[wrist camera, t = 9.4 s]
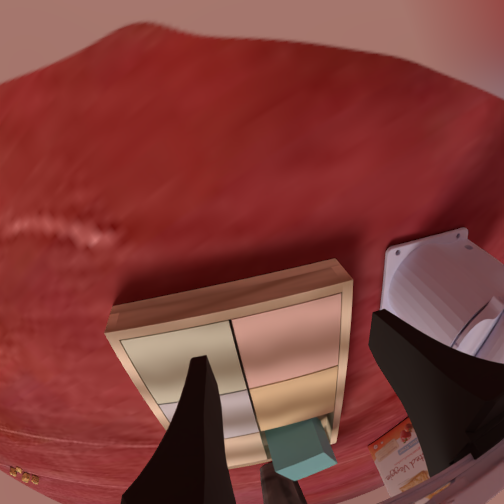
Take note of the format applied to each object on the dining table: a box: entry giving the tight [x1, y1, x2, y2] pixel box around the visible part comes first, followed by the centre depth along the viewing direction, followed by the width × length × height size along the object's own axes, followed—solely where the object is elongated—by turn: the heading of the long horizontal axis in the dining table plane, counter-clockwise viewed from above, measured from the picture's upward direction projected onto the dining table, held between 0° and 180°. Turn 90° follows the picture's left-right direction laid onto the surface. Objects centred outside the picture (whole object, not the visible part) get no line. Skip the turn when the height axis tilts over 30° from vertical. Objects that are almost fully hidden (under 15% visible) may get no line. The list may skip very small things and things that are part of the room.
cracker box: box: [368, 417, 451, 504], centre depth 31 cm, size 14×6×21 cm, turn 139°
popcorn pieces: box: [10, 467, 39, 484], centre depth 33 cm, size 5×5×2 cm
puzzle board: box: [105, 258, 353, 469], centre depth 26 cm, size 24×16×3 cm
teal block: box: [264, 417, 338, 481], centre depth 27 cm, size 5×5×6 cm
